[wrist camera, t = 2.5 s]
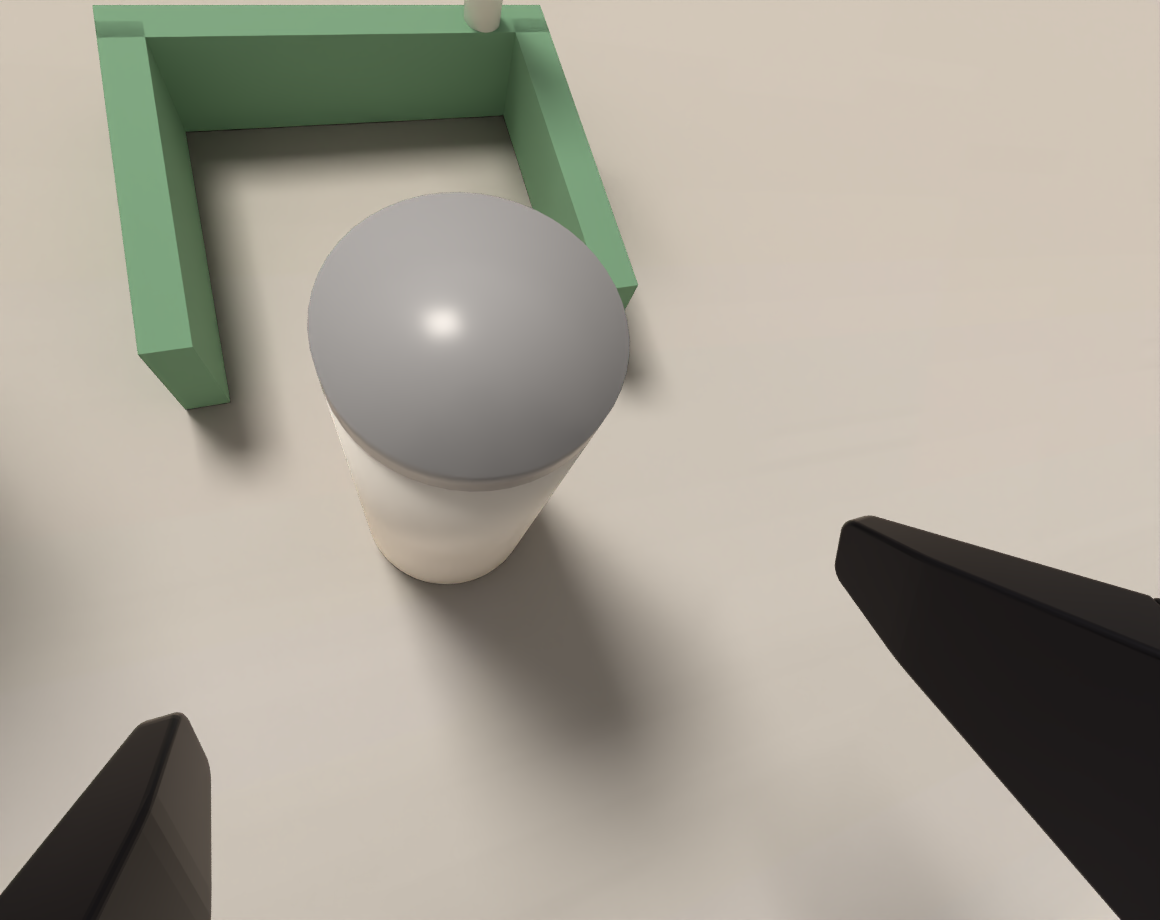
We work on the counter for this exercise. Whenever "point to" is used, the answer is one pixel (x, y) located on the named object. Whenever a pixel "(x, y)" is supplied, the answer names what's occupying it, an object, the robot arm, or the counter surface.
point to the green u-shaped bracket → (315, 97)
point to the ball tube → (463, 372)
